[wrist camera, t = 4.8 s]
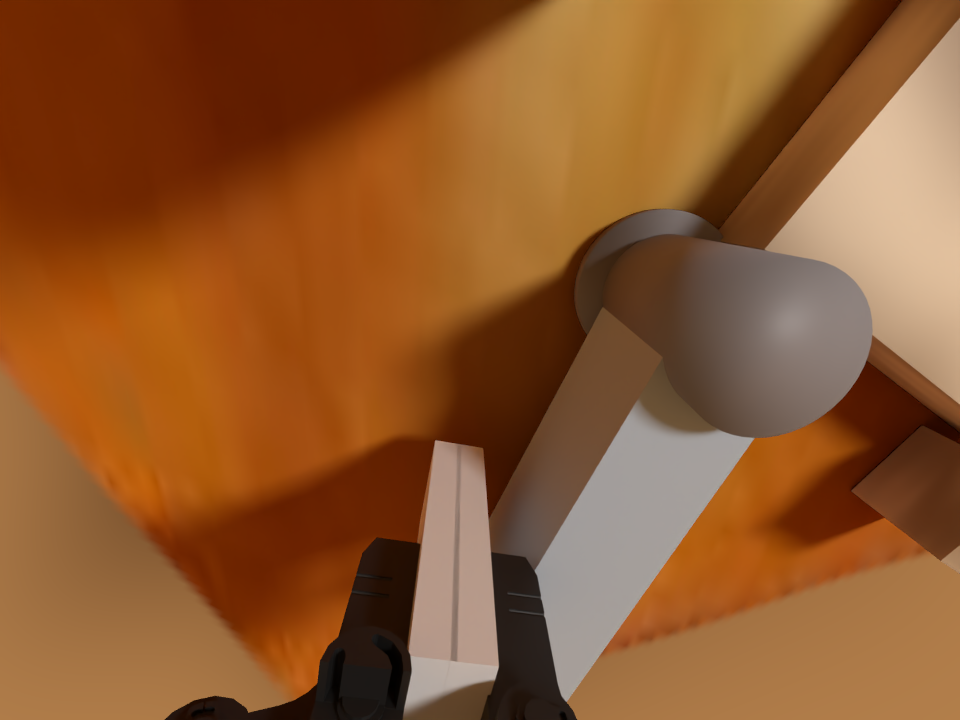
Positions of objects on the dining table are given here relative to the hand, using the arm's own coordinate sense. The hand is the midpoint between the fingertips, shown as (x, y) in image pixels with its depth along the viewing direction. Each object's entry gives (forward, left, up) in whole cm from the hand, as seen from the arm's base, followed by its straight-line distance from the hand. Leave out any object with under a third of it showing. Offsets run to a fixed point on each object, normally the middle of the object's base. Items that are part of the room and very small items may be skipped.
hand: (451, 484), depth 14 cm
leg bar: (-8, +2, -2) cm, 8 cm away
